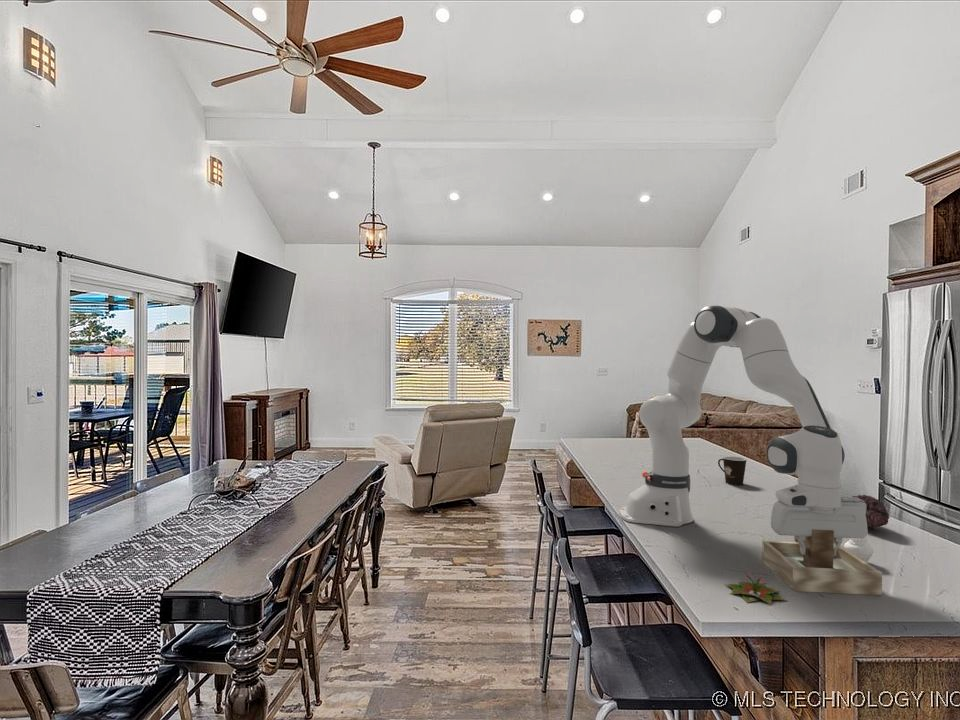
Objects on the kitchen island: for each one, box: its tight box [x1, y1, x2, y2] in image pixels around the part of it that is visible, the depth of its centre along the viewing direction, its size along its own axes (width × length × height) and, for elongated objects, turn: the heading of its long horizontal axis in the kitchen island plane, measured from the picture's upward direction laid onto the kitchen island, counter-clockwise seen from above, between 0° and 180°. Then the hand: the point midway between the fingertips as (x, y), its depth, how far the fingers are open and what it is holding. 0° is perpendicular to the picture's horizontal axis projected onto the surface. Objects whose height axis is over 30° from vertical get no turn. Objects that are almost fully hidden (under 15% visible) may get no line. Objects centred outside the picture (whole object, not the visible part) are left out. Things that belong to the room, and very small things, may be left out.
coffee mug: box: [717, 456, 747, 486], centre depth 224 cm, size 12×9×10 cm
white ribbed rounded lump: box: [843, 537, 875, 563], centre depth 140 cm, size 6×6×7 cm
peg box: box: [761, 540, 883, 596], centre depth 130 cm, size 18×18×5 cm
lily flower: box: [724, 571, 787, 606], centre depth 121 cm, size 12×12×5 cm
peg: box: [803, 530, 834, 569], centre depth 130 cm, size 4×4×10 cm
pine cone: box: [851, 494, 890, 529], centre depth 167 cm, size 18×10×10 cm, turn 170°
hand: (817, 554), depth 130 cm, fingers closed on peg, 4 cm apart
